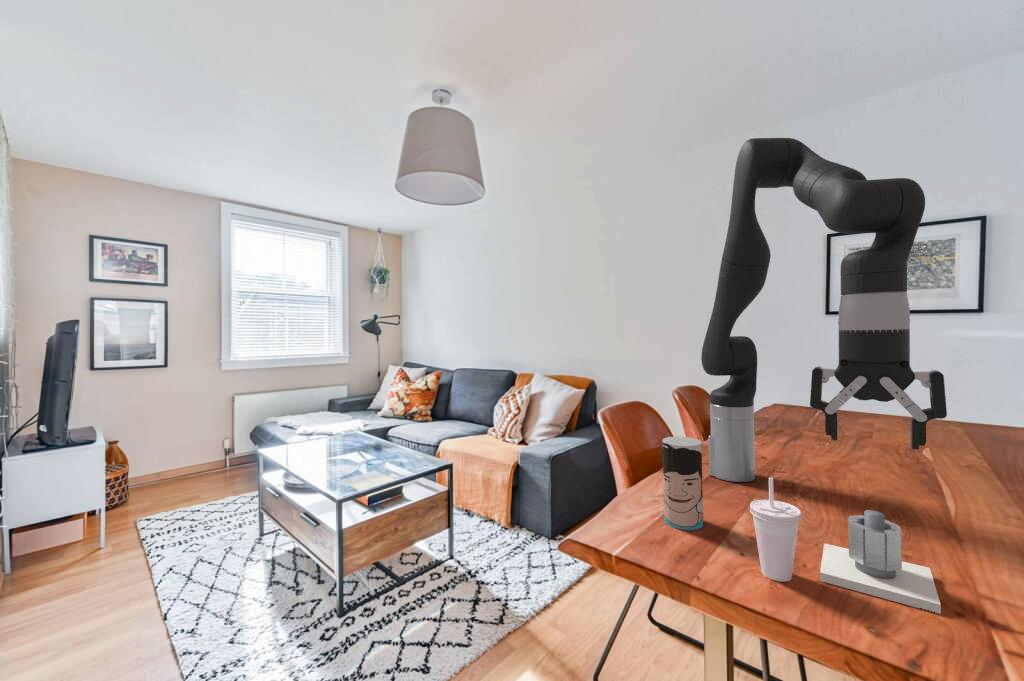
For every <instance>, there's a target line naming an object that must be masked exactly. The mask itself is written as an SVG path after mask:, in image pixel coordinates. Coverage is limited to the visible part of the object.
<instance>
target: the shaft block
mask: <svg viewBox="0 0 1024 681" xmlns="http://www.w3.org/2000/svg"><path fill="white" fill-rule="evenodd" d="M863 513H864V514H863V516H864V526H865V527H867V528H872V529H877V530H885V520H886V515H885V514H884V513H882V512H880V511H877V510H872V509H867V510H864V511H863ZM821 557H822V558H821V561H820V562H821V564H820V569H819V570H820V571H819V581H820V582H823V583H827V584H830V585H834V586H837V587H840V588H845V589H848V590H851V591H855V592H860V593H863V594H865V595H866V594H867V595H868V596H869V595H870V596H874V597H878V598H881V599H884V600H887V601H892V602H896V603H897V604H898V603H900V604H902V605H906V606H910V607H912V608H913V607H914V608H917V609H920V608H922V609H921V610H924V609H927V610H930V611H929V612H931V611H932V612H931V613H934V612H935V613H934V614H939V615H941V613H942V611H941V610H942V608H941V602H940V598H939V594H938V591H937V588H936V584H935V581H934V577H933V574H932V571H931V568H930V567H927V566H924V565H919V564H915V563H911V562H907V561H903V560H902V569H901V570H893V571H887V570H885V571H884V570H880V569H876V568H872V567H867V566H866V565H862V564H860V563H859V562H857V561H855V560H853V559H852V558H850V557H849V548H847V547H841V546H839V545H833V544H829V543H823V550H822V555H821ZM927 610H926V611H927Z"/></svg>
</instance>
